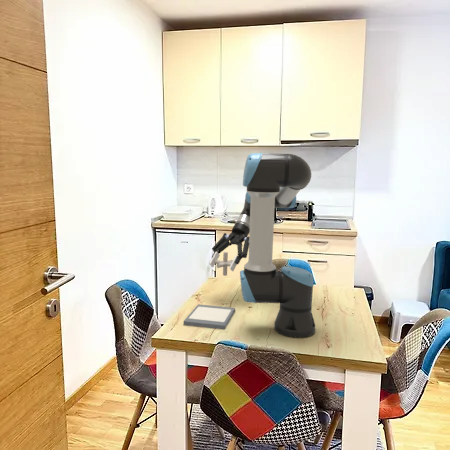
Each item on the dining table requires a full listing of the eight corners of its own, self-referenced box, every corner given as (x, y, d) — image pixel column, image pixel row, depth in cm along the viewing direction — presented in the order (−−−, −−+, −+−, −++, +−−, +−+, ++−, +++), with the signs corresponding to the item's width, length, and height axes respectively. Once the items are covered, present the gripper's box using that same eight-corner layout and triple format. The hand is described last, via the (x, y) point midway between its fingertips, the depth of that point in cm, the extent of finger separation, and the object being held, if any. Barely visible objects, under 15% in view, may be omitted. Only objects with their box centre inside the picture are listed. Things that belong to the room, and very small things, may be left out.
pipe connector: (227, 279, 178) (227, 256, 177) (208, 275, 184) (209, 252, 183) (241, 274, 186) (241, 252, 185) (222, 270, 192) (223, 249, 191)
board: (198, 307, 181) (198, 303, 181) (235, 311, 178) (235, 307, 177) (183, 324, 162) (183, 320, 161) (224, 329, 158) (224, 325, 158)
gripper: (267, 235, 188) (246, 276, 178) (225, 229, 201) (204, 267, 191) (261, 224, 183) (239, 266, 173) (219, 219, 196) (196, 258, 186)
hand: (221, 267), depth 182 cm, fingers closed on pipe connector, 10 cm apart
